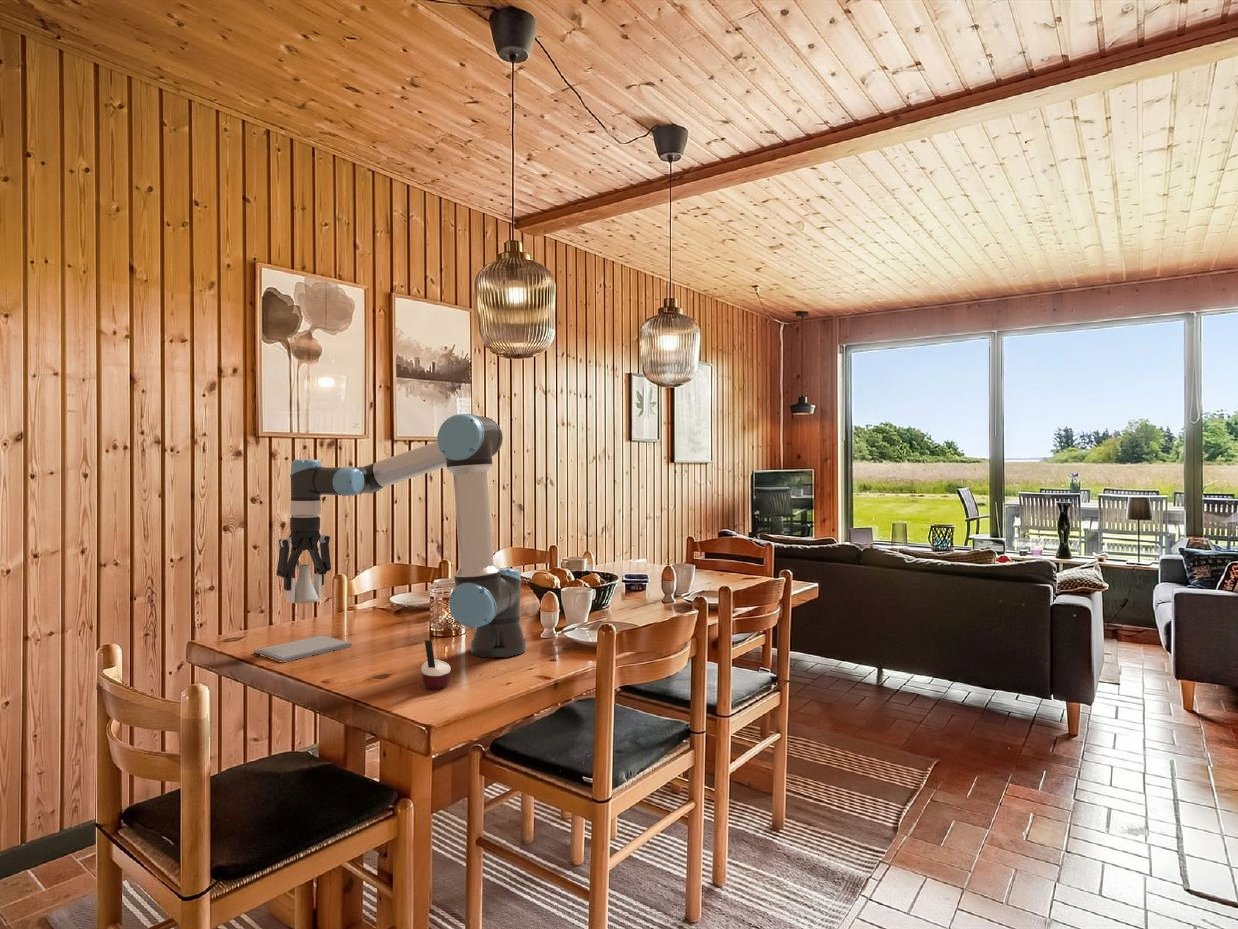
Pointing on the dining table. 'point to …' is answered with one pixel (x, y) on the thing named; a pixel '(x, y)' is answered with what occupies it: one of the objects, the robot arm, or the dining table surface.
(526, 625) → the dining table surface
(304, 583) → the flask
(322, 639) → the slate board
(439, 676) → the cocoa
